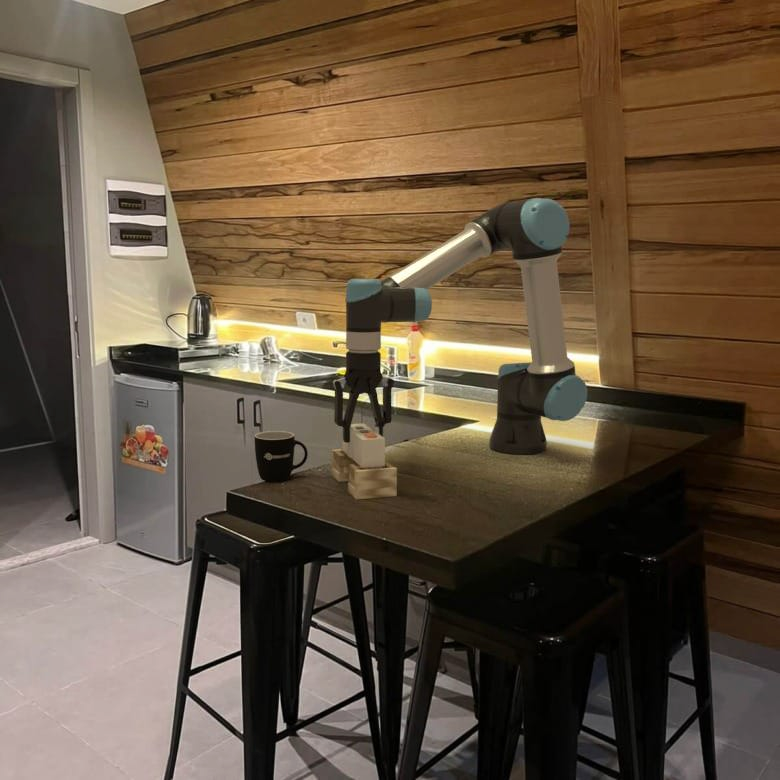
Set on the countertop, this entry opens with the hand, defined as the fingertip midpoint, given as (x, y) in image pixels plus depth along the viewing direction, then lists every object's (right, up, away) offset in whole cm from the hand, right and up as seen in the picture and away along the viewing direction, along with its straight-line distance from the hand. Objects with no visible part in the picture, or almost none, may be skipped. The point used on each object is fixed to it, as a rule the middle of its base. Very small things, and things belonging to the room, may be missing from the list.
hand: (362, 455), depth 176 cm
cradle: (0, -7, +1) cm, 7 cm away
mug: (-19, -6, +6) cm, 21 cm away
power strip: (0, -1, 0) cm, 1 cm away
